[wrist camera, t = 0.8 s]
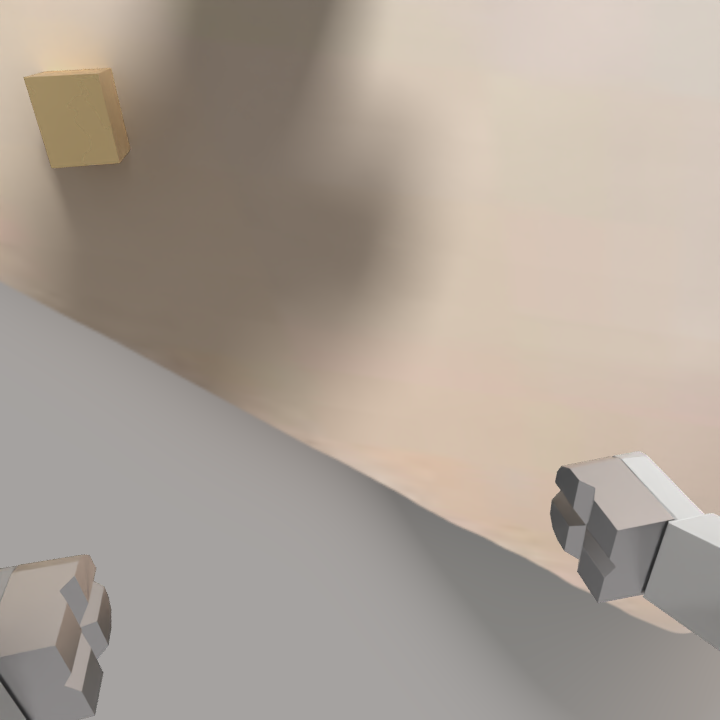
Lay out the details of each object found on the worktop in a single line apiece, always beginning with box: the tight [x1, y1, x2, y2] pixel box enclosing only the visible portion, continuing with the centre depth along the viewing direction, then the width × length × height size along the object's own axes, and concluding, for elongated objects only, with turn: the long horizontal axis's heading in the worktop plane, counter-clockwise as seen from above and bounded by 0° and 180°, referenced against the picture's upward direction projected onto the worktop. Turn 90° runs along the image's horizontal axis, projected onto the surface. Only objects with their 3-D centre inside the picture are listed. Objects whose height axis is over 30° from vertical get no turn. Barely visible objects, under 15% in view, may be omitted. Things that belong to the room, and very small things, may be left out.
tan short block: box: [24, 68, 130, 168], centre depth 36 cm, size 5×4×4 cm
